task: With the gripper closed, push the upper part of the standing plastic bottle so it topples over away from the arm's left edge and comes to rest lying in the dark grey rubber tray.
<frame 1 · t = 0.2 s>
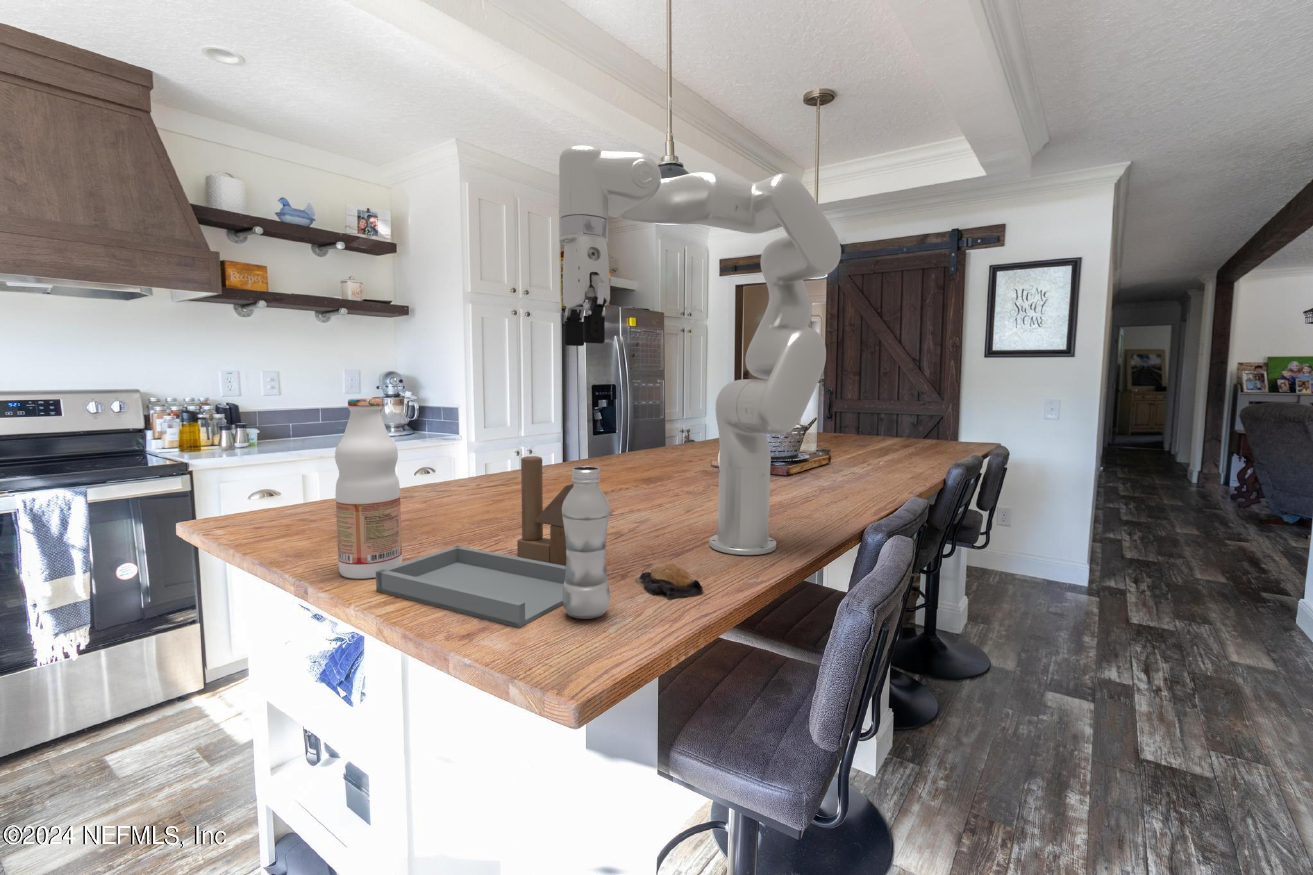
hand: (583, 344, 97), 37 cm above the table, tool pointing down, fingers open, 9 cm apart
plastic bottle: (586, 616, 83), on the table
fruit juice: (371, 571, 100), on the table
toy block structure: (547, 563, 106), on the table
tray: (483, 590, 91), on the table
bread roll: (669, 591, 94), on the table
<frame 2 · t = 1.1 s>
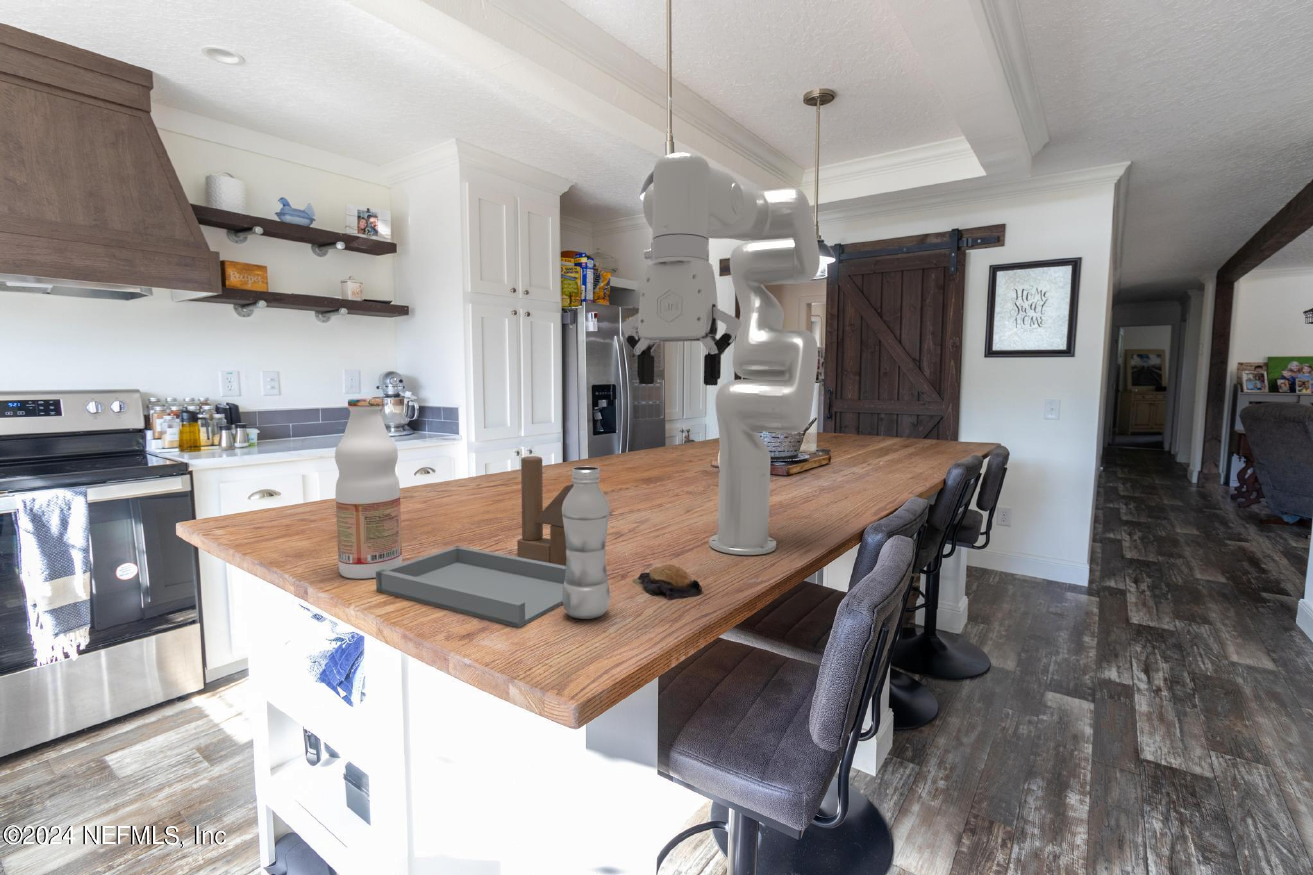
hand: (677, 384, 83), 31 cm above the table, tool pointing down, fingers open, 9 cm apart
nothing on the table moved.
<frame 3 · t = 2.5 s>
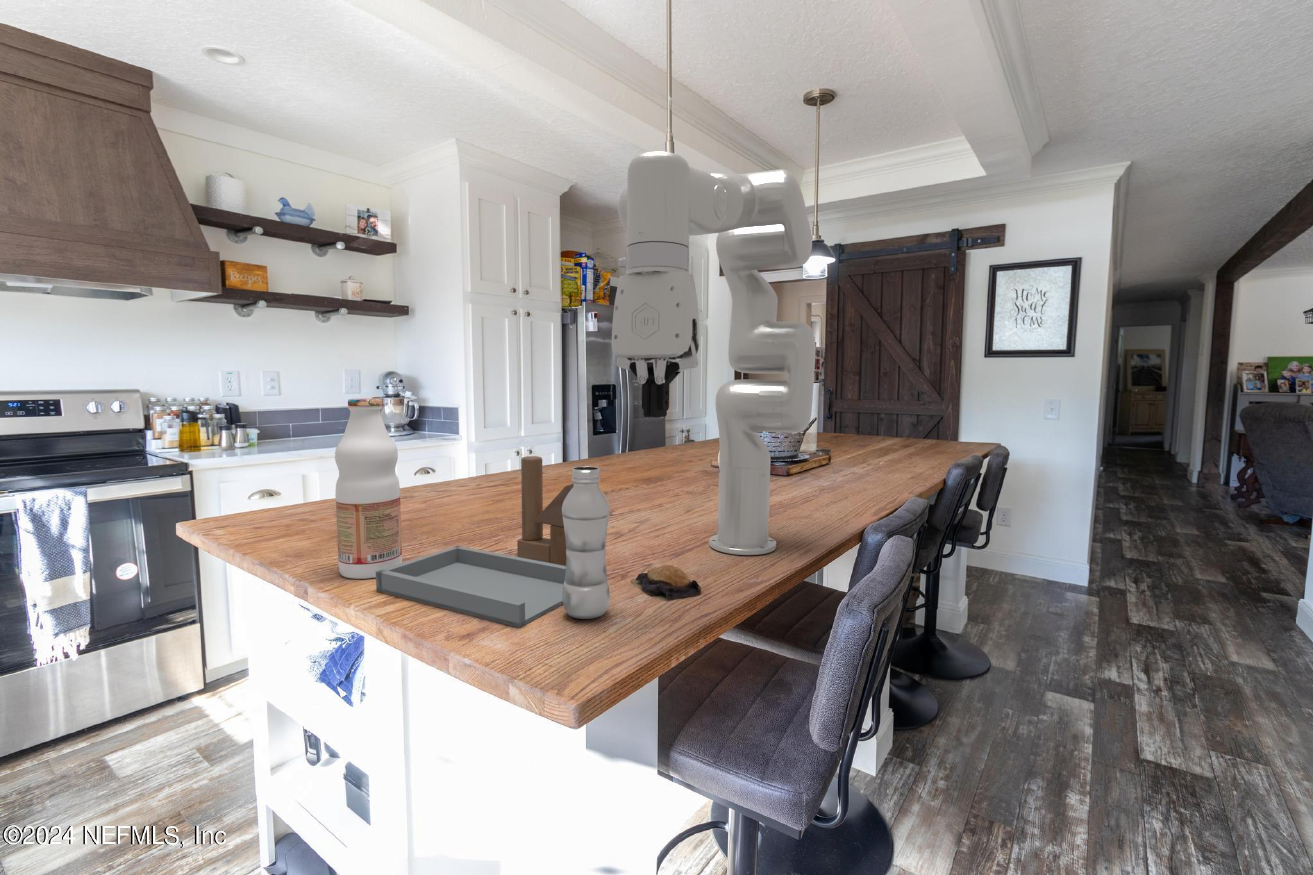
hand: (655, 416, 75), 27 cm above the table, tool pointing down, fingers closed
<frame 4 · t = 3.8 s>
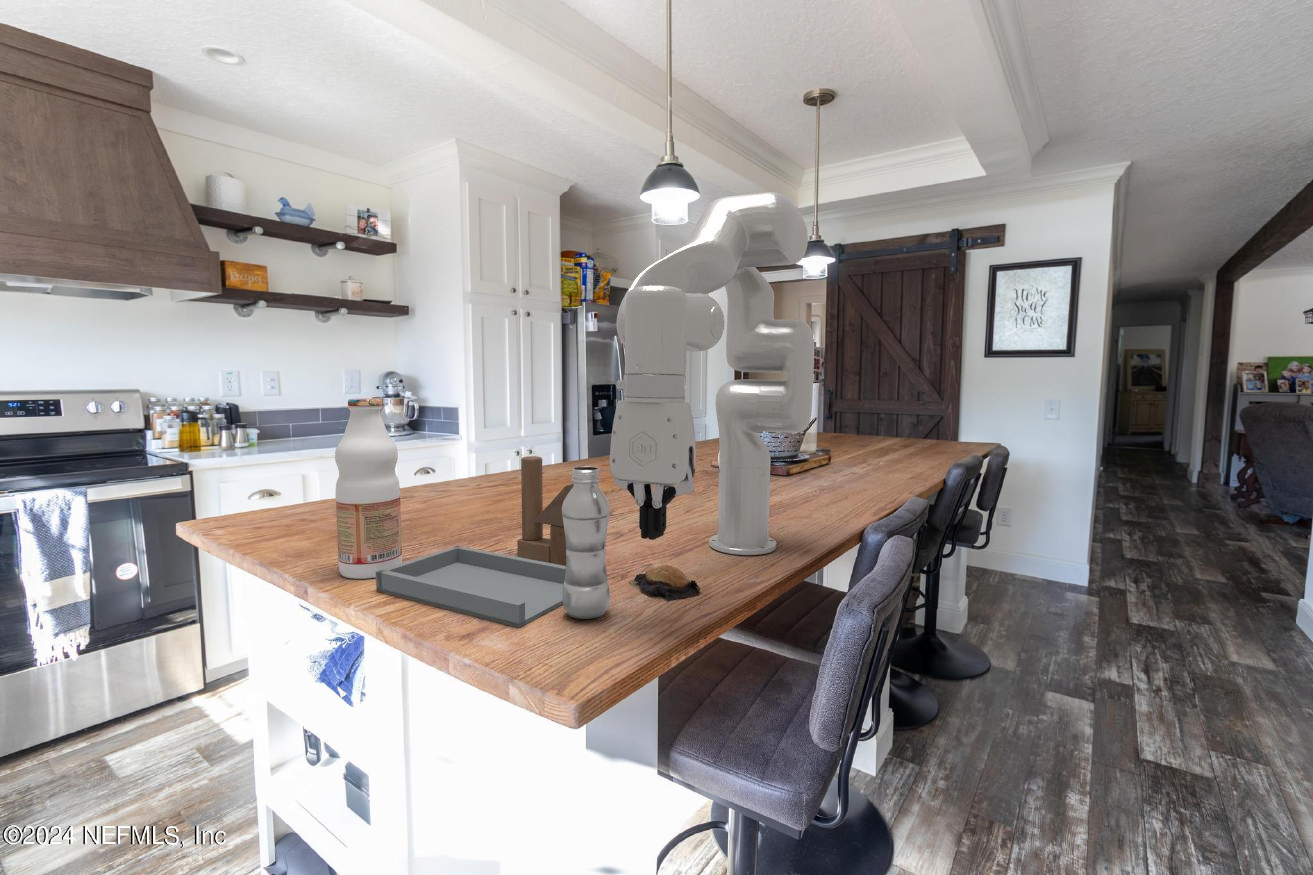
hand: (652, 536, 77), 12 cm above the table, tool pointing down, fingers closed
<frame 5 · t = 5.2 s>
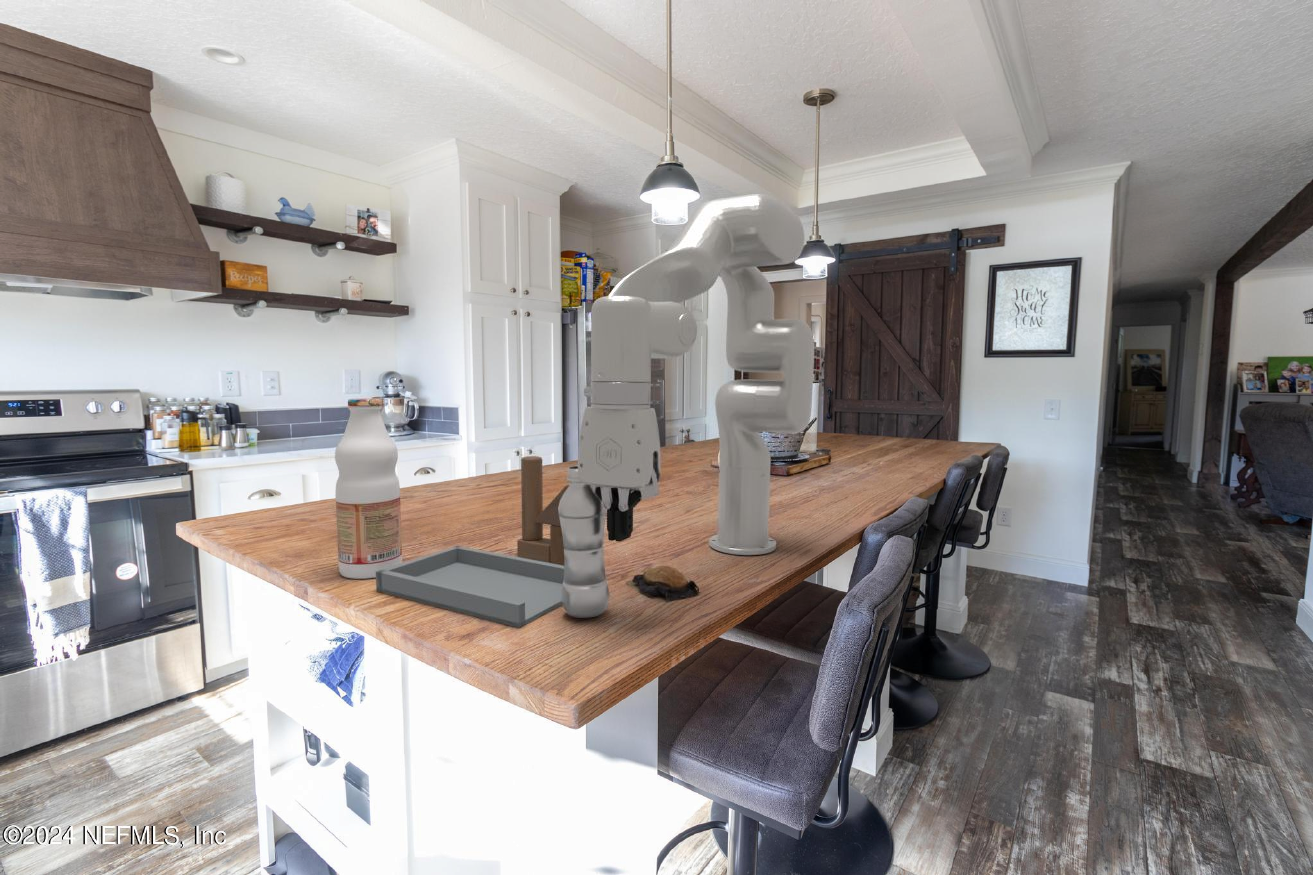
hand: (619, 538, 79), 11 cm above the table, tool pointing down, fingers closed
plastic bottle: (586, 615, 83), on the table, touching gripper
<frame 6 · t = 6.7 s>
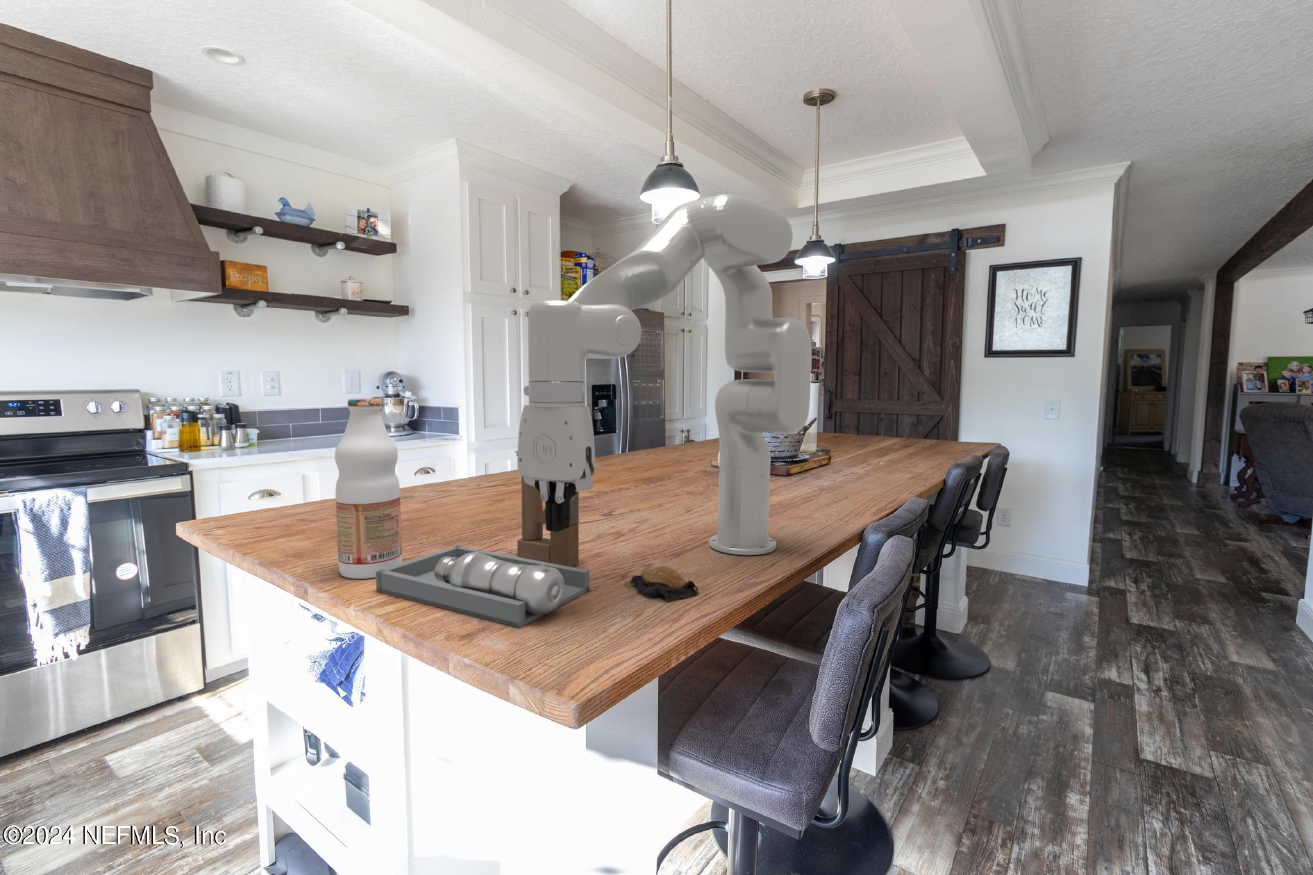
hand: (557, 529, 84), 11 cm above the table, tool pointing down, fingers closed
plastic bottle: (557, 592, 81), point 4 cm above the table, touching tray
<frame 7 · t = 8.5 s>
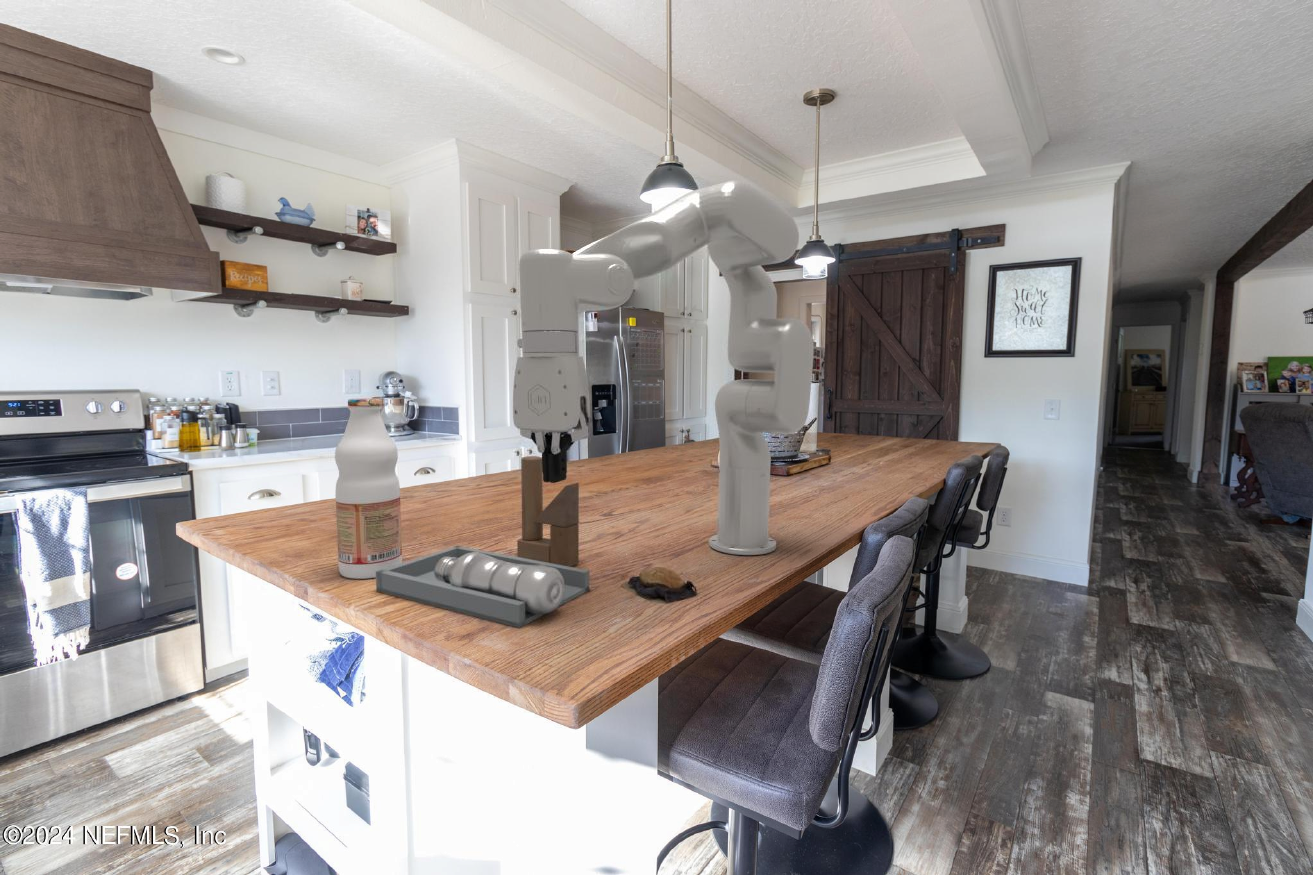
hand: (554, 480, 84), 18 cm above the table, tool pointing down, fingers closed
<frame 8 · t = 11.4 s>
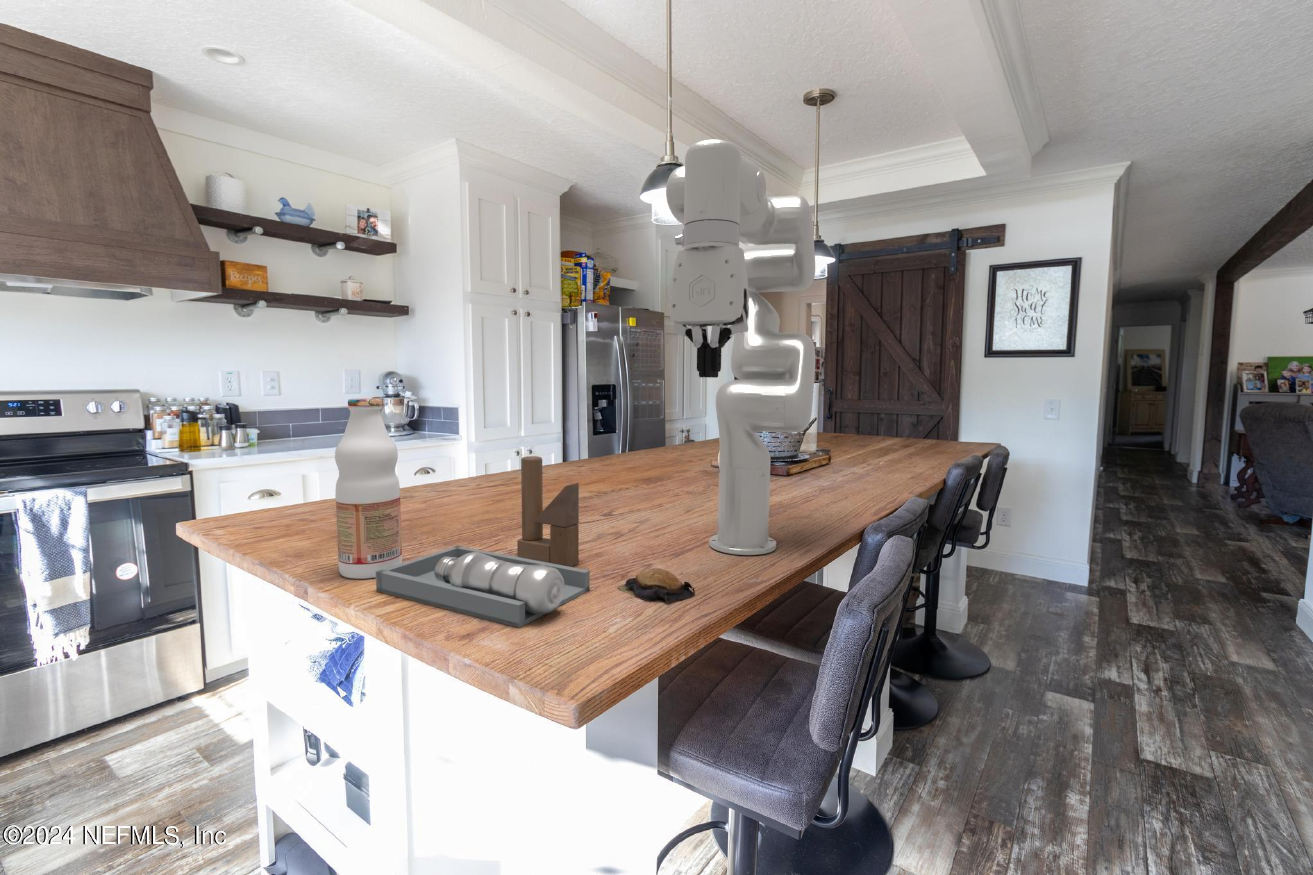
hand: (708, 377, 85), 32 cm above the table, tool pointing down, fingers closed
at the end: plastic bottle tilted 90°; plastic bottle inside the target area (8.4 cm from its centre), point 3.6 cm above the table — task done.
